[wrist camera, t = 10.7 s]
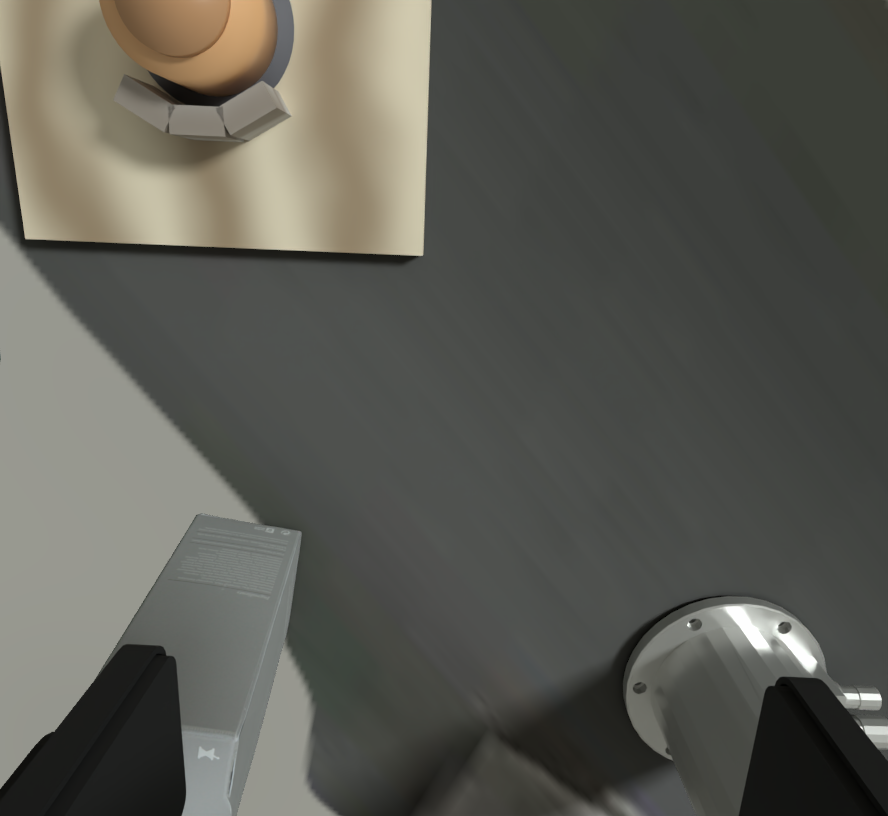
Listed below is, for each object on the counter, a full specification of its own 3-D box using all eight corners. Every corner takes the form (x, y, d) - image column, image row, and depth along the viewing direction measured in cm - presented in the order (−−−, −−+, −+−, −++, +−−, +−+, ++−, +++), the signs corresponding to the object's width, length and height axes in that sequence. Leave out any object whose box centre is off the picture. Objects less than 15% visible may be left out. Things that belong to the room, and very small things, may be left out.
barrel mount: (438, -217, 29) (437, -285, 25) (423, 254, 35) (420, 261, 31) (-27, -243, 28) (-104, -315, 24) (39, 237, 34) (-14, 242, 30)
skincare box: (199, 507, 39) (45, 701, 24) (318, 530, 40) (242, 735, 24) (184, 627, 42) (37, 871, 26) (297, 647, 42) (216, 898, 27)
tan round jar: (275, -48, 29) (243, -96, 25) (279, 99, 31) (251, 80, 26) (140, -54, 29) (81, -104, 25) (152, 93, 31) (100, 74, 26)
